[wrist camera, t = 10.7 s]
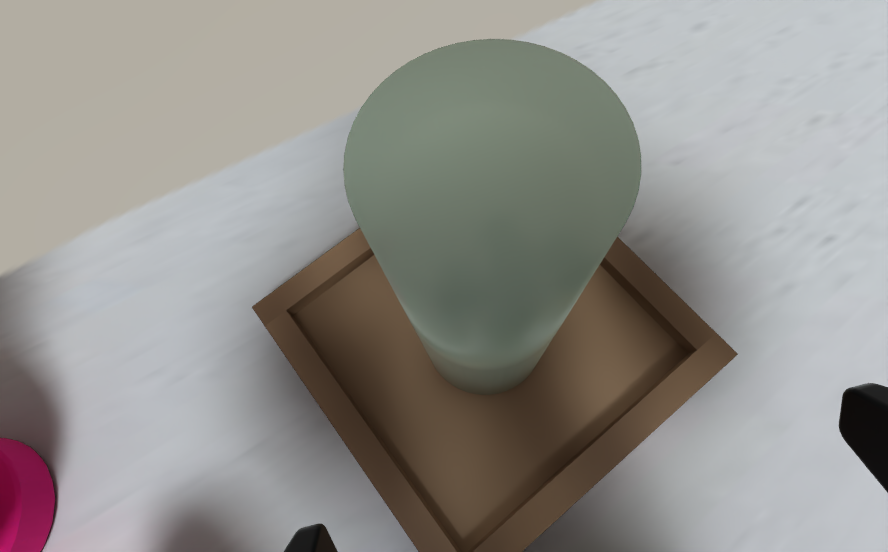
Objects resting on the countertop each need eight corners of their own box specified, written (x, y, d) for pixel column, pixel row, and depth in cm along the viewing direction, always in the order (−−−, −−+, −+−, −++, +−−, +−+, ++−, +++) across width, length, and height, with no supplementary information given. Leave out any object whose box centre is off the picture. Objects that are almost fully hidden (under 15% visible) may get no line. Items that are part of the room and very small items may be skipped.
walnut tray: (460, 592, 18) (458, 609, 16) (271, 319, 22) (251, 307, 20) (712, 362, 20) (737, 354, 18) (499, 149, 24) (502, 124, 22)
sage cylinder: (525, 411, 18) (605, 335, 7) (409, 373, 19) (297, 245, 7) (556, 297, 20) (666, 69, 8) (446, 266, 21) (401, 17, 9)
